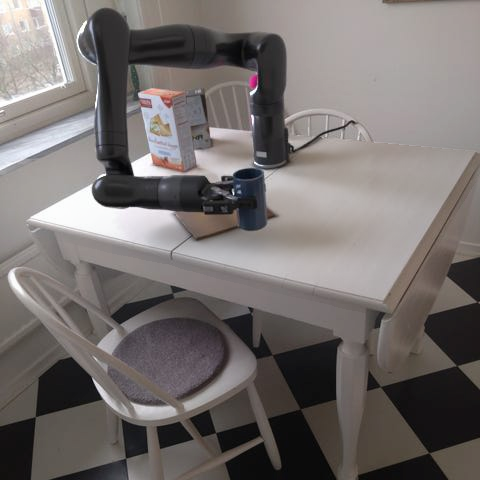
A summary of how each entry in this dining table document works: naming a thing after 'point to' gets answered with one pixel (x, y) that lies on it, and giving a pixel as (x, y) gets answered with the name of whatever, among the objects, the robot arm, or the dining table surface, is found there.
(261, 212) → the pen holder
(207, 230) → the desk mat
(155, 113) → the cracker box
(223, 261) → the dining table surface
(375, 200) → the dining table surface
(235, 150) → the dining table surface
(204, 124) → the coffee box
